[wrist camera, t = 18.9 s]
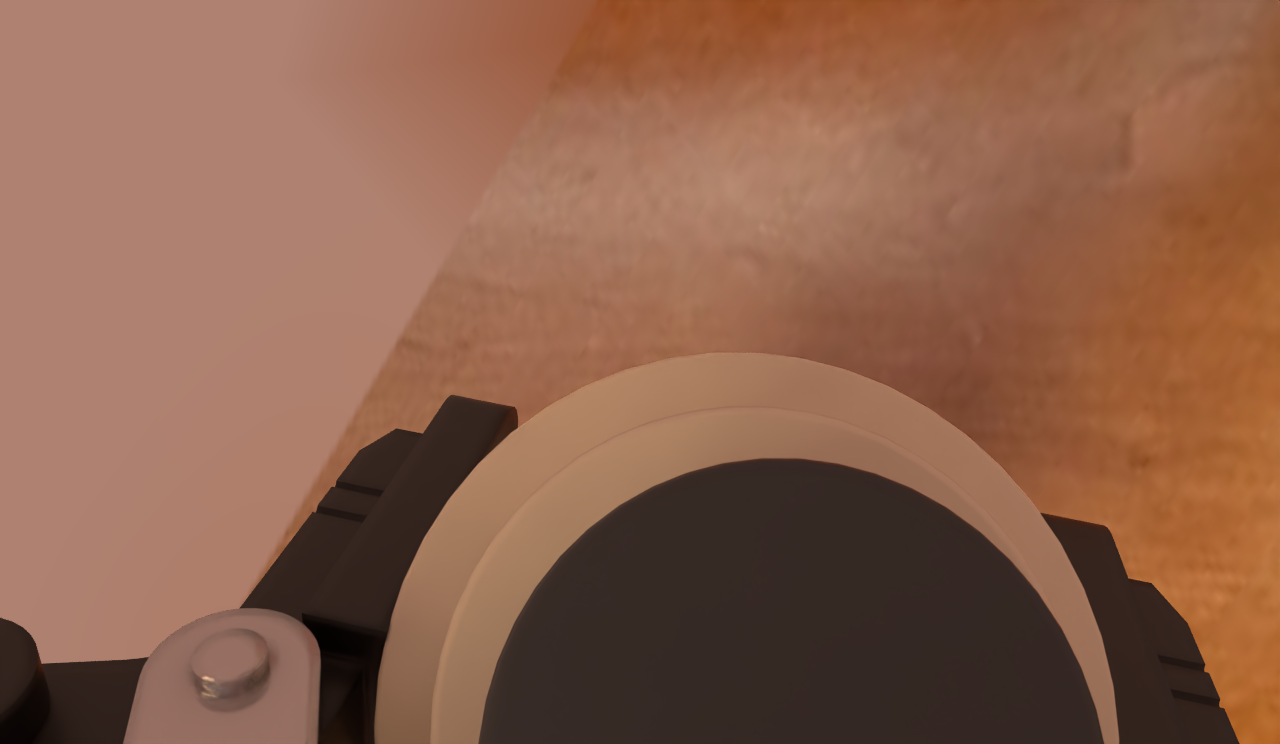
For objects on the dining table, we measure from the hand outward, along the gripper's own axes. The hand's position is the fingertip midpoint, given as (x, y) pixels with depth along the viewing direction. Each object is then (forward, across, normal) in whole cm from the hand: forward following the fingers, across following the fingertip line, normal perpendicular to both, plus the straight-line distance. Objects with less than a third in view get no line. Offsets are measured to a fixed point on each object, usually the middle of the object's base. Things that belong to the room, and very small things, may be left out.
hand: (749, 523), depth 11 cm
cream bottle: (+3, 0, +5) cm, 6 cm away
